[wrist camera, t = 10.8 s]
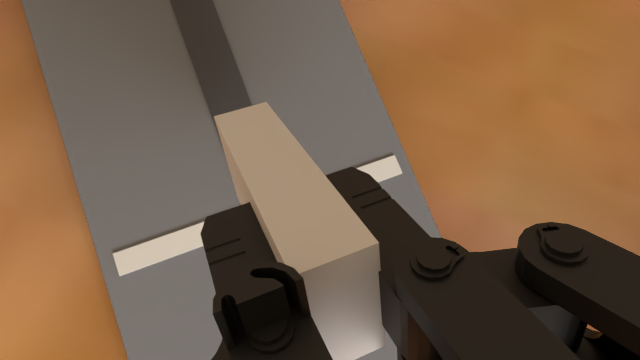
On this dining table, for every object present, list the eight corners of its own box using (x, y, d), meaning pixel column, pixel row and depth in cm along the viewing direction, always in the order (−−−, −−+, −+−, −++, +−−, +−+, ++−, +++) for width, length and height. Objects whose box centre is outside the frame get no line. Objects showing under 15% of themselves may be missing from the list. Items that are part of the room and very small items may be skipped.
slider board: (475, 370, 18) (504, 381, 16) (192, 515, 15) (184, 551, 13) (224, -223, 23) (223, -271, 21) (-25, -198, 20) (-55, -252, 18)
